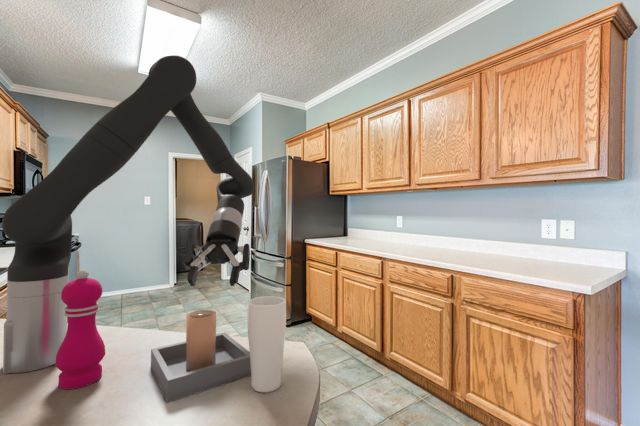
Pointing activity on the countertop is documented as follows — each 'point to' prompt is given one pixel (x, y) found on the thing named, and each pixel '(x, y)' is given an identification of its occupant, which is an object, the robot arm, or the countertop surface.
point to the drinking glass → (266, 341)
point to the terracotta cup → (200, 339)
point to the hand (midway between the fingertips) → (211, 284)
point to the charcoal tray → (182, 383)
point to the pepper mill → (80, 334)
